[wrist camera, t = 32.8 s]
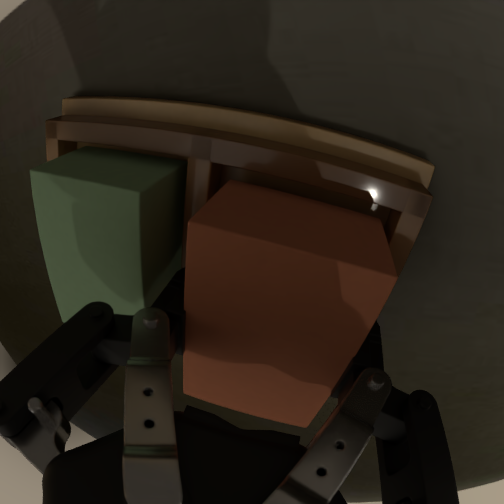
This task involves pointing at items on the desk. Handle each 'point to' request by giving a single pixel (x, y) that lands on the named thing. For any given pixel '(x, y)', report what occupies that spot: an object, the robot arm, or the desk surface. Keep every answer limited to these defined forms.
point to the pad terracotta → (278, 299)
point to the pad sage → (109, 226)
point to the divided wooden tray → (255, 157)
